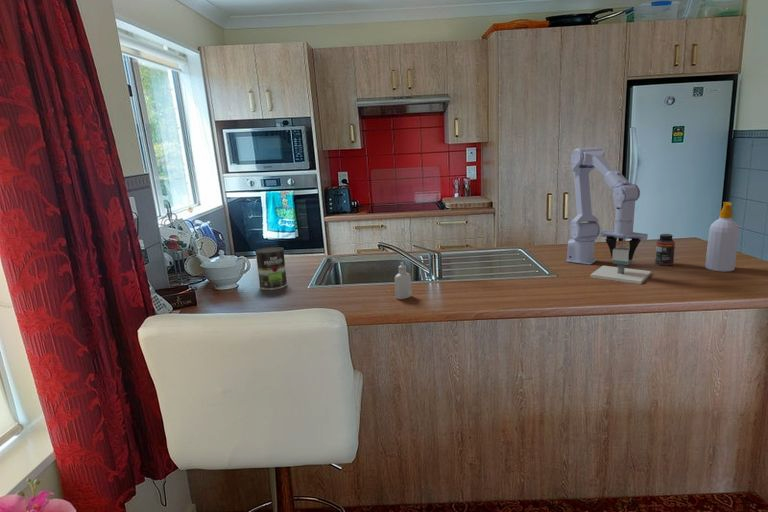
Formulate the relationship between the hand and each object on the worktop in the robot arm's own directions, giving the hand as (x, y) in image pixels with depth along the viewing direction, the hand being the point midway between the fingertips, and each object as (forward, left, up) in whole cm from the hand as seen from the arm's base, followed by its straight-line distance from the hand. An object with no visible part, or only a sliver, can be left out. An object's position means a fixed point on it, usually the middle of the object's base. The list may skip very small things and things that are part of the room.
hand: (621, 258), depth 163 cm
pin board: (0, 0, -6) cm, 6 cm away
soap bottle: (+26, +25, -6) cm, 37 cm away
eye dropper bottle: (-51, -59, -6) cm, 78 cm away
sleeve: (0, 0, -2) cm, 2 cm away
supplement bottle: (+9, +23, -6) cm, 26 cm away
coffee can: (-101, -75, -6) cm, 126 cm away
